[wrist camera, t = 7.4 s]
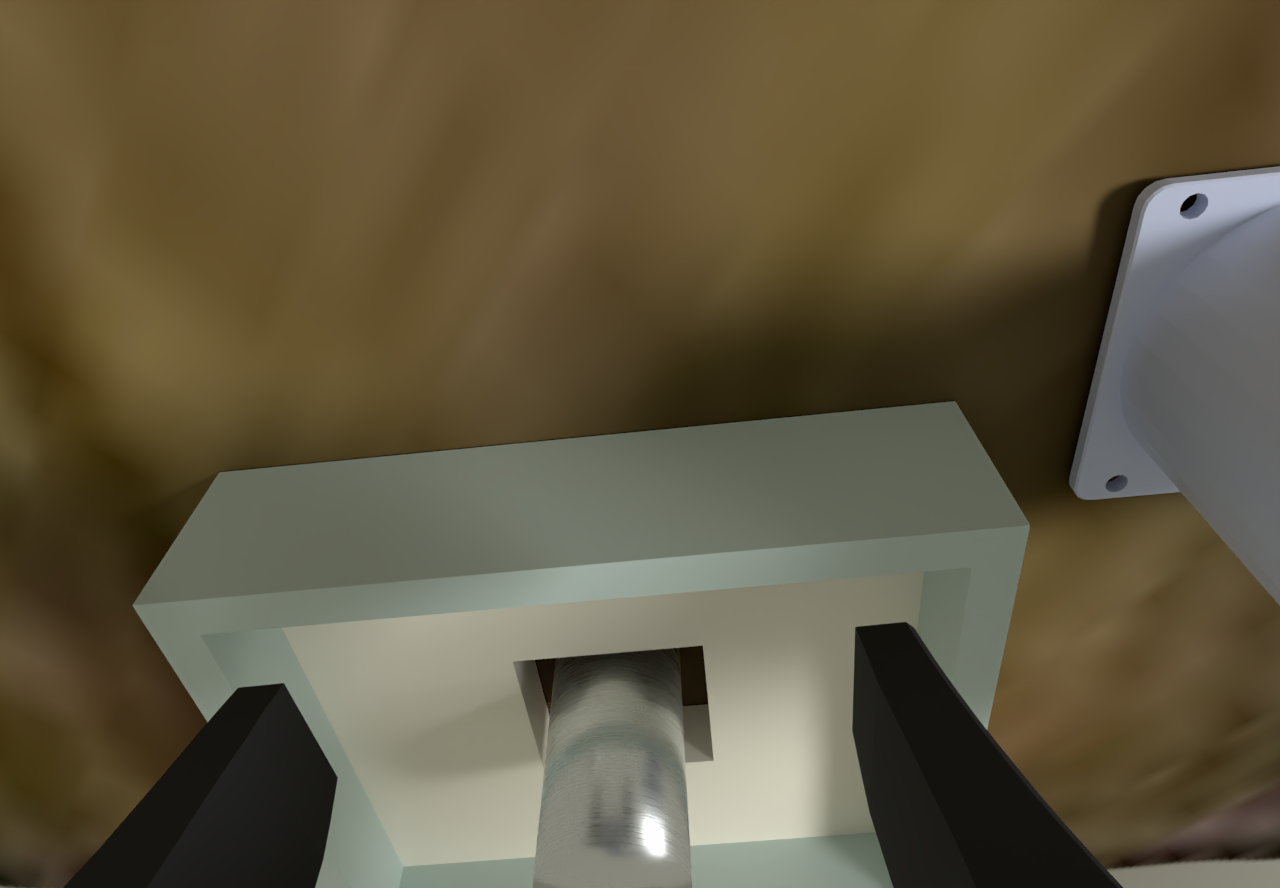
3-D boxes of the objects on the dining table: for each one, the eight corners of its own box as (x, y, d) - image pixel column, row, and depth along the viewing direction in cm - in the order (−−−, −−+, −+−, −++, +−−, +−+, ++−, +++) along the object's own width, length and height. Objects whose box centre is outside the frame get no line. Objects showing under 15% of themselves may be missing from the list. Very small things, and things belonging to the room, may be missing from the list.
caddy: (955, 400, 20) (1030, 525, 16) (905, 789, 29) (945, 925, 25) (219, 472, 21) (132, 605, 17) (395, 827, 30) (363, 964, 26)
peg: (675, 600, 24) (687, 840, 18) (682, 684, 26) (695, 923, 20) (548, 608, 24) (520, 847, 18) (565, 691, 26) (545, 928, 20)
